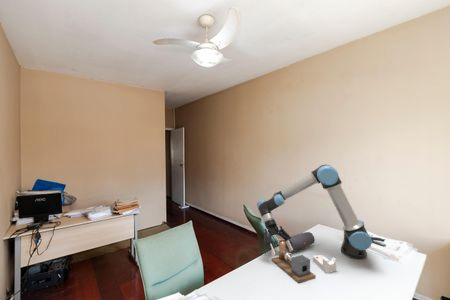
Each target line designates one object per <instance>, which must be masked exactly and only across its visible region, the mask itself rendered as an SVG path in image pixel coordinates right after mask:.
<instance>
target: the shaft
mask: <svg viewBox="0 0 450 300" xmlns="http://www.w3.org/2000/svg"><path fill="white" fill-rule="evenodd" d="M286 251H287V249H286V242H285V241H284V239H283V240H282V239H281V240H278V257H279V259H281V260H286V261H291V258H292V257H293V255H292V254H291V252H290V251H289V252H288V251H287V252H286Z"/></svg>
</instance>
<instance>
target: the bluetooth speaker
mask: <svg viewBox="0 0 450 300" xmlns="http://www.w3.org/2000/svg"><path fill="white" fill-rule="evenodd" d="M290 237H291V238H290V239H289V240H290V243H291V246H292V248H293V251H292V252H294V251H295V252H298V251H301V250H303V249H306V247H309V246H311V245H313V244H314V243H315V241H316V239H315V237H314V234H313V233H312V232H310V231H306V232H301V233H299V234H297V233H296V234H295V235H290ZM283 241H285V242H286V240H285V239H283ZM286 251H287V252H288V251H289V252H290V250H289V248H288V246H287V244H286Z"/></svg>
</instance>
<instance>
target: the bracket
mask: <svg viewBox="0 0 450 300" xmlns="http://www.w3.org/2000/svg"><path fill="white" fill-rule="evenodd" d="M337 261H338V260H337V258H336V257H332V258H331V260H330V259H328V258H327V257H326V256H324V254H320V255H319V254H318V255H312V262H313V264H315V265H316V266H317V268H319V269H320V270H321V271H322V272H324V274H331V273H332V272H337V269H338V268H337V266H338V265H337V264H338V263H337Z"/></svg>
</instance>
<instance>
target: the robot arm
mask: <svg viewBox="0 0 450 300" xmlns="http://www.w3.org/2000/svg"><path fill="white" fill-rule="evenodd" d="M342 183H343V181H342V180H341V178H340V176H339V172H338V170H337V169H336V168H335V167H333V166H331V165H330V164H322V165H320V166H318V167H317V168H316V169H314V170H312V171H310V174H308V175H307V176H305V177H302V178H301V179H299V180H297V181H295V182H294V183H292V184H290V185H288V186H287V187H285V188H282V189H281V190H280V191H277V192H274V194H273V195H272V197H271V198H269V199H267V200H265V199H261V200H258V201H257V202H256V206H257V209H258V213H259V215H260V216H261V218H262V221H263V223H264V226H265V228H264V229H263V245H265V246H266V247H267V248H268V250H269V251H270V252H271V253H270V254H271V255H272V257H274V256H275V255H276V252H275V249H274V247H273V245H272V243H271V241H272V237H273V236H279V237H280V238H281V239H283V240H286V244H287V246H288V248H289V250H290V251H289V253H291V252H294V251H293V248H292V246H291V243H290V240H289V239H290V238H291V235H290V234H289V233H288V232H287V231H286V230H285V229H284V228H283V226H282V225H280V226H278V225H277V222H276V220H275V217H274V215H273V214H272V211H273V210H275V209H277V208H279V207H281V206H283V205H284V204H285V203H286V202H285V201H286V200H287V199H289V198H292V197H293V196H295V195H297V194H299V193H301V192H302V191H305V190H307V189H308V188H310V187H312V186H314V185H316V184H321V187H322V188H323V190H326V191H327V194H328V195H329V197H330V198H331V201H332V203H333V205H334V207H335V210H336V211H337V213H338V215H339V218H340V219H341V221H342V224H343V226H342V229H343V242H342V243H341V247H340V252H341V253H342V254H343V255H345V256H347V257H348V258H352V259H357V260H365V259H366V258H367V257H368V252H367V250H368V249H369V248H371V246H372V244H373V240H372V238H371V235H370V234H369V233H368V230H367V229H366V227H365V222H364V221H363V220H361V219H358V217H357V215H356V214H355V211H354V209H353V207H352V206H351V204H350V203H351V202H350V201H349V199H348V198H347V196H346V194H345V192H344V189H343V187H342ZM268 233H269V234H268Z"/></svg>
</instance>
